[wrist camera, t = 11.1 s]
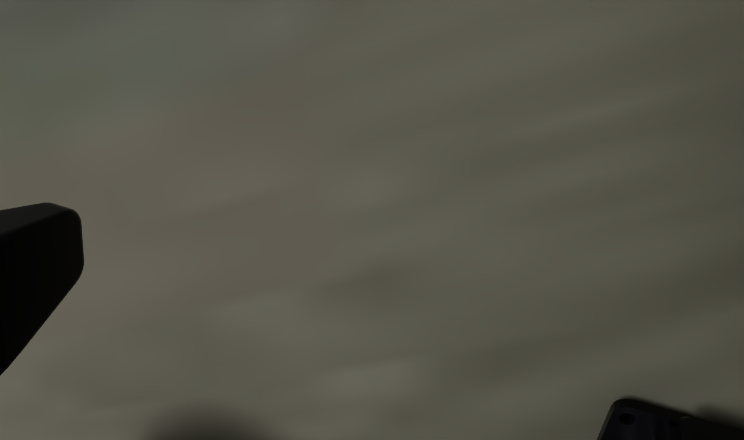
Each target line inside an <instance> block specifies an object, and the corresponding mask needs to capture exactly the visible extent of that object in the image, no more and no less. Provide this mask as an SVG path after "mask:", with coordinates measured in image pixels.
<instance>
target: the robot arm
mask: <svg viewBox="0 0 744 440" xmlns="http://www.w3.org/2000/svg"><path fill="white" fill-rule="evenodd" d="M83 266H84V254H83V240H82V226H81V219H80V217H79V215H78V213H77V212H76V211H74V210H73V209H69V208H66V207H63V206H60V205H56V204H53V203H40V204H34V205H28V206H23V207H17V208H11V209H5V210H0V375H1V374H2V373H3V372H4V371H5V370H6V369H7V368H8V367H9V366H10V364H11V363H12V362H13V361H14V360H15V358H16V357H17V356H18V355H19V354H20V353H21V351H22V350H23V349H24V348H25V346H26V345H27V344H28V343H29V341H30V340H31V339H32V338H33V336H34V335H35V334H36V332H37V331H38V330H39V329H40V327H41V326H42V325H43V324H44V322H45V321H46V320H47V319H48V317H49V316H50V315H51V314H52V312H53V311H54V310H55V309H56V307H57V306H58V305H59V304H60V302H61V301H62V300H63V299H64V297H65V296H66V295H67V293H68V292H69V291H70V290H71V288H72V287H73V286H74V285H75V283H76V282H77V281H78V279H79V277H80V275H81V273H82V270H83ZM623 413H630V414H632V416H629V417H627V416H623V415H621V414H623ZM597 440H744V432H742V431H738V430H735V429H731V428H728V427H724V426H721V425H718V424H714V423H711V422H707V421H704V420H700V419H697V418H693V417H690V416H686V415H683V414H679V413H676V412H673V411H669V410H666V409H662V408H659V407H655V406H652V405H648V404H645V403H641V402H638V401H634V400H631V399H619V400H617V401H615V402H614V403H613V404H612V405H611V407H610V410H609V412H608V414H607V417H606V419H605V421H604V424H603V426H602V429H601V431H600V433H599V436H598V438H597Z"/></svg>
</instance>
